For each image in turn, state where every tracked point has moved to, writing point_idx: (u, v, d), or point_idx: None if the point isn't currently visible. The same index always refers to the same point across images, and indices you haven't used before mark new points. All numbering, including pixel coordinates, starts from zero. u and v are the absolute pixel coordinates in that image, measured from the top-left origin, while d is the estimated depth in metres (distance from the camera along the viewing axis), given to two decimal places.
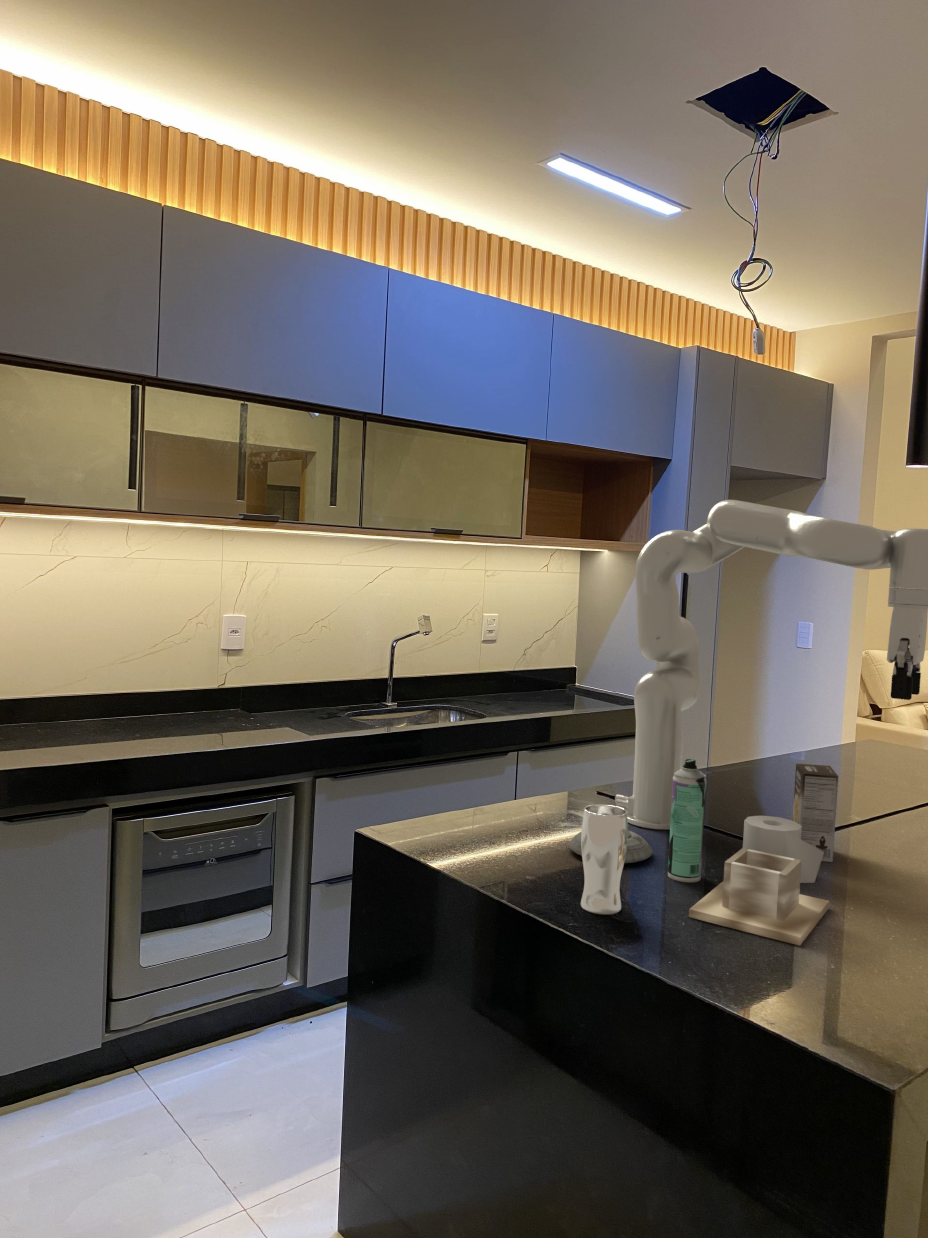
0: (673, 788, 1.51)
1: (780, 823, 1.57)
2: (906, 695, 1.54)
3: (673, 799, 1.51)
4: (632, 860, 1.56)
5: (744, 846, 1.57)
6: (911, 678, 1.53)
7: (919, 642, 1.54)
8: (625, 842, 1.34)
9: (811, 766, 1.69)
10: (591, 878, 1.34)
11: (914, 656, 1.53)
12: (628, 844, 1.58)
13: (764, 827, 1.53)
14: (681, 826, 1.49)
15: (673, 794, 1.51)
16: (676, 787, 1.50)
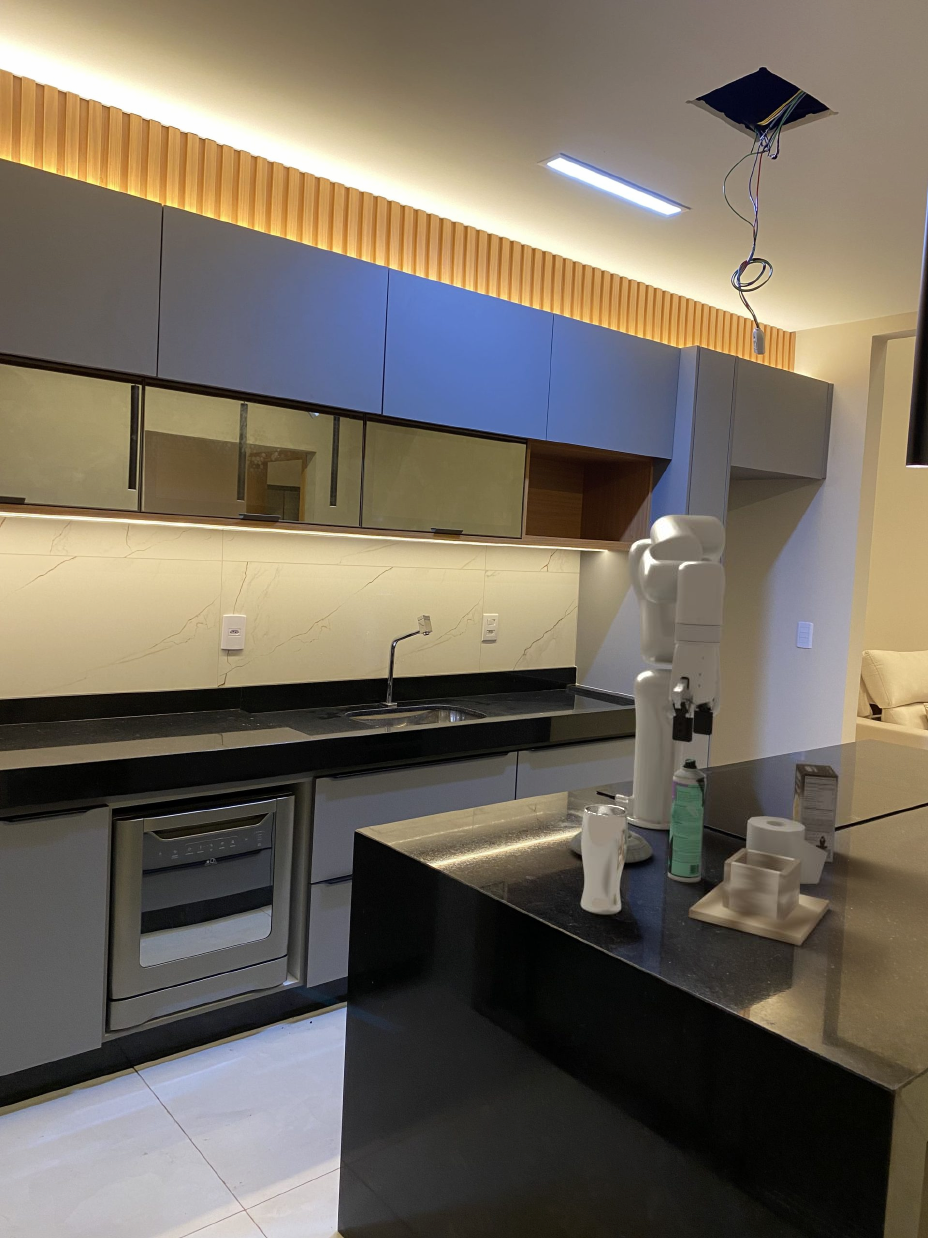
0: (673, 788, 1.51)
1: (783, 824, 1.56)
2: (686, 737, 1.45)
3: (673, 799, 1.51)
4: (632, 860, 1.56)
5: (747, 846, 1.56)
6: (691, 719, 1.45)
7: (699, 681, 1.45)
8: (625, 842, 1.34)
9: (811, 766, 1.69)
10: (591, 878, 1.34)
11: (694, 696, 1.45)
12: (628, 844, 1.58)
13: (767, 828, 1.53)
14: (681, 826, 1.49)
15: (673, 794, 1.51)
16: (677, 787, 1.50)
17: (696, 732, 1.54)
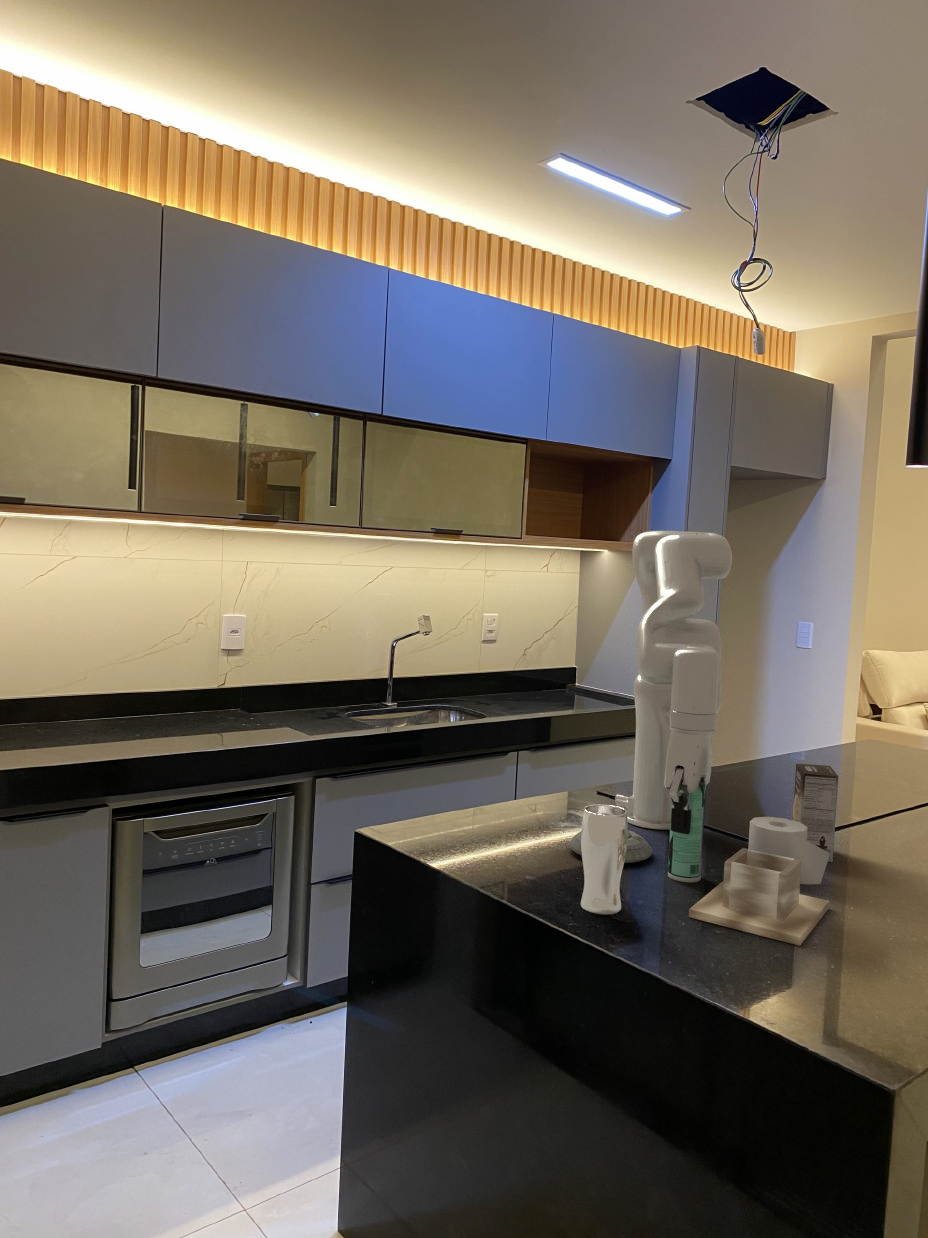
0: None
1: (786, 824, 1.56)
2: (685, 829, 1.48)
3: None
4: (633, 860, 1.56)
5: (750, 847, 1.56)
6: (689, 812, 1.48)
7: (694, 770, 1.46)
8: (625, 842, 1.34)
9: (811, 766, 1.69)
10: (591, 878, 1.34)
11: (688, 785, 1.46)
12: (629, 844, 1.58)
13: (770, 828, 1.53)
14: None
15: None
16: None
17: None
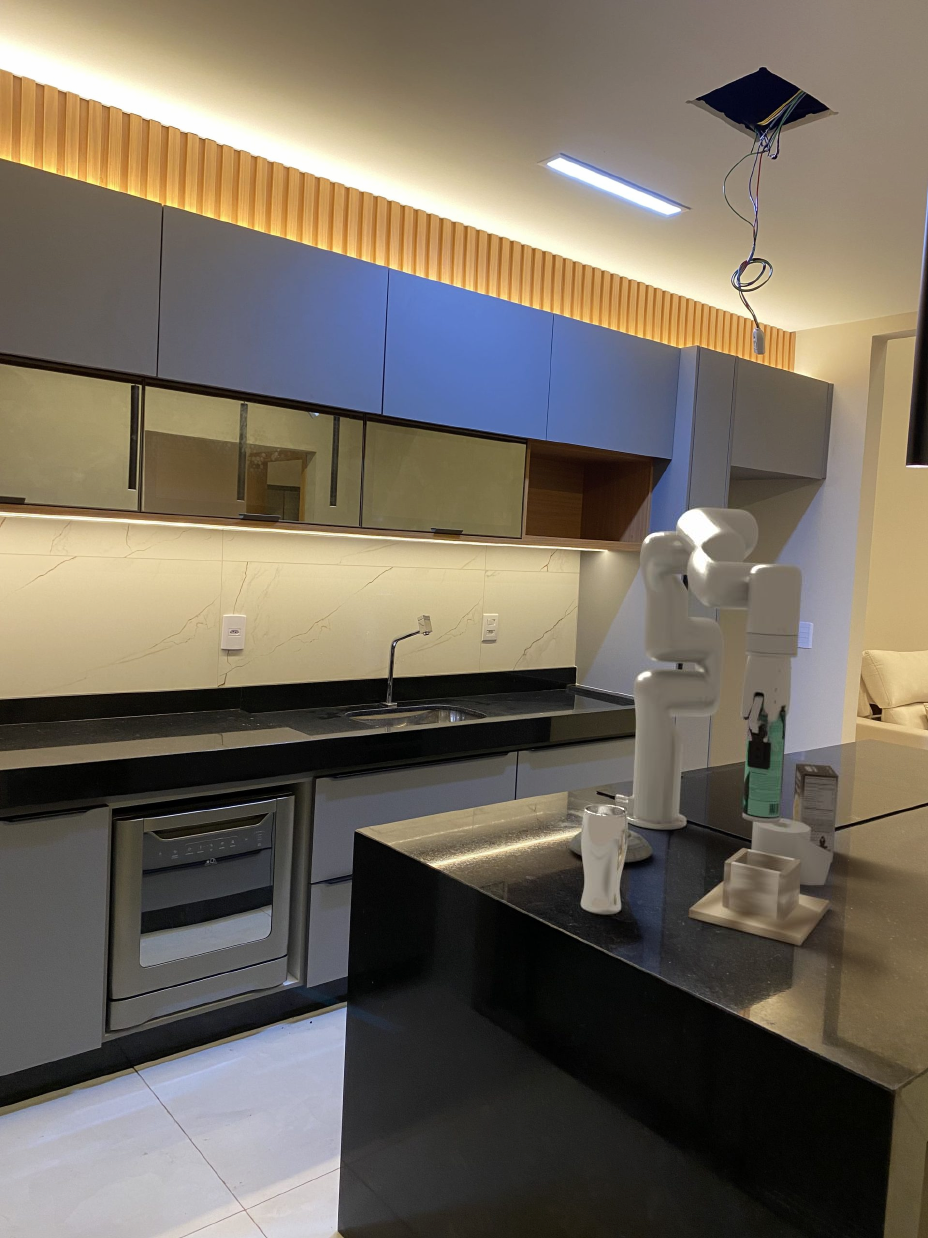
0: None
1: (789, 825, 1.56)
2: (764, 764, 1.33)
3: None
4: (633, 859, 1.56)
5: (753, 848, 1.56)
6: (769, 744, 1.33)
7: (775, 697, 1.31)
8: (625, 842, 1.34)
9: (811, 766, 1.69)
10: (591, 878, 1.34)
11: (769, 714, 1.31)
12: (629, 843, 1.58)
13: (773, 829, 1.52)
14: None
15: None
16: None
17: None
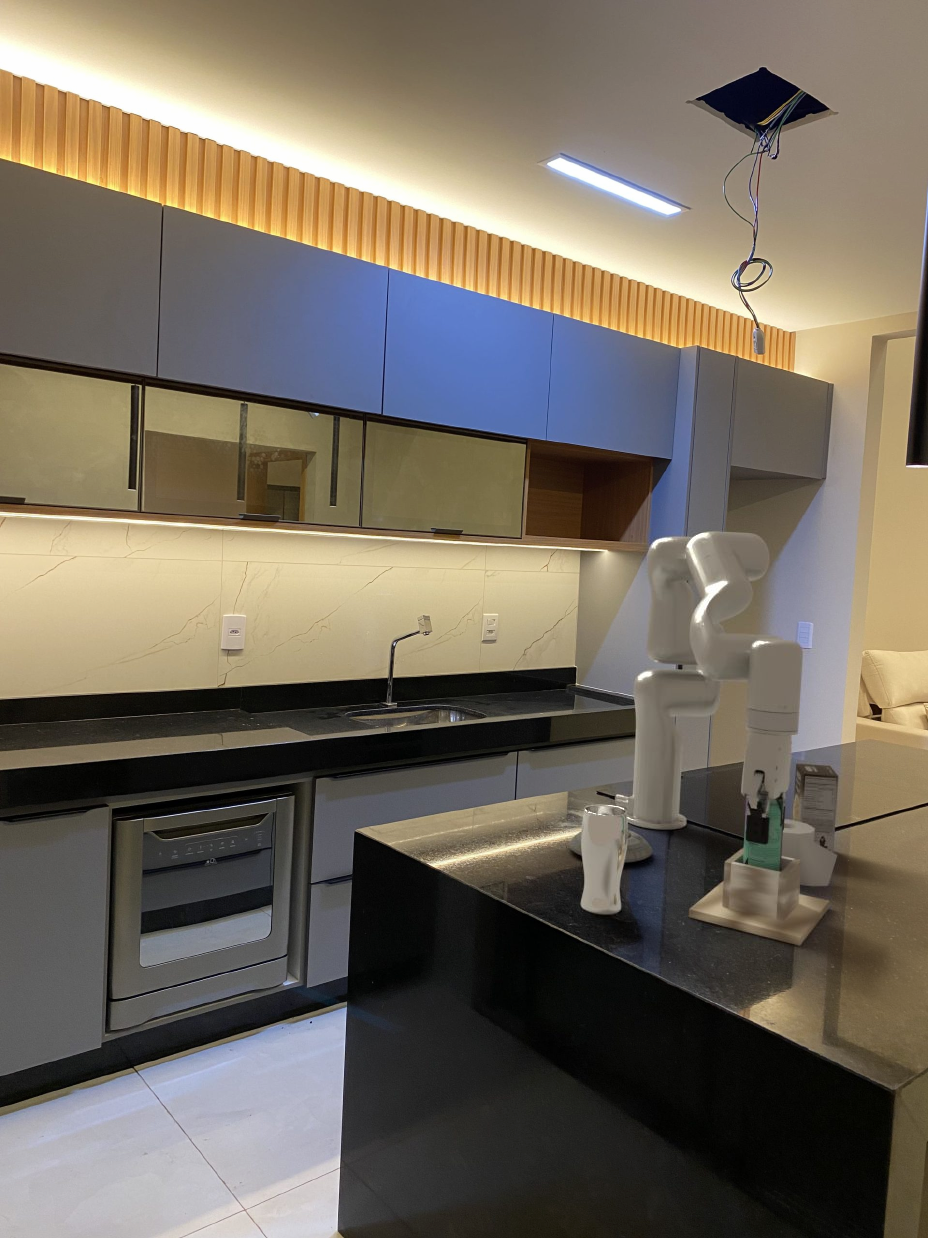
0: (747, 806, 1.36)
1: (793, 826, 1.55)
2: (762, 839, 1.32)
3: None
4: (634, 860, 1.56)
5: None
6: (767, 820, 1.31)
7: (776, 775, 1.31)
8: (625, 842, 1.34)
9: (811, 766, 1.69)
10: (591, 878, 1.34)
11: (770, 792, 1.31)
12: (629, 843, 1.58)
13: None
14: (757, 847, 1.34)
15: None
16: None
17: None
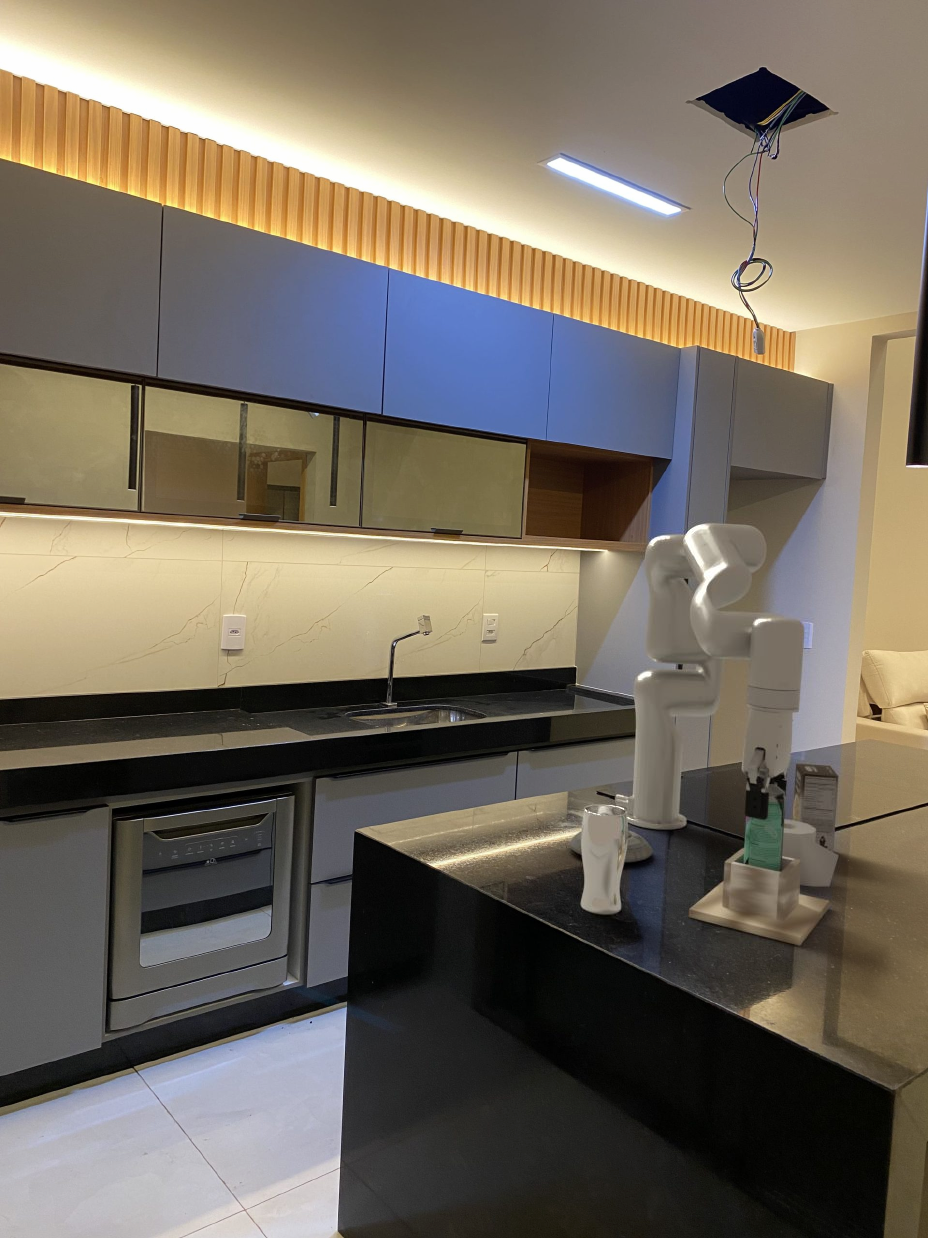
0: None
1: (794, 826, 1.55)
2: (761, 814, 1.32)
3: (748, 818, 1.36)
4: (634, 859, 1.56)
5: None
6: (767, 795, 1.31)
7: (777, 753, 1.31)
8: (625, 842, 1.34)
9: (811, 766, 1.69)
10: (591, 878, 1.34)
11: (770, 769, 1.31)
12: (630, 843, 1.58)
13: None
14: (758, 847, 1.34)
15: None
16: None
17: None
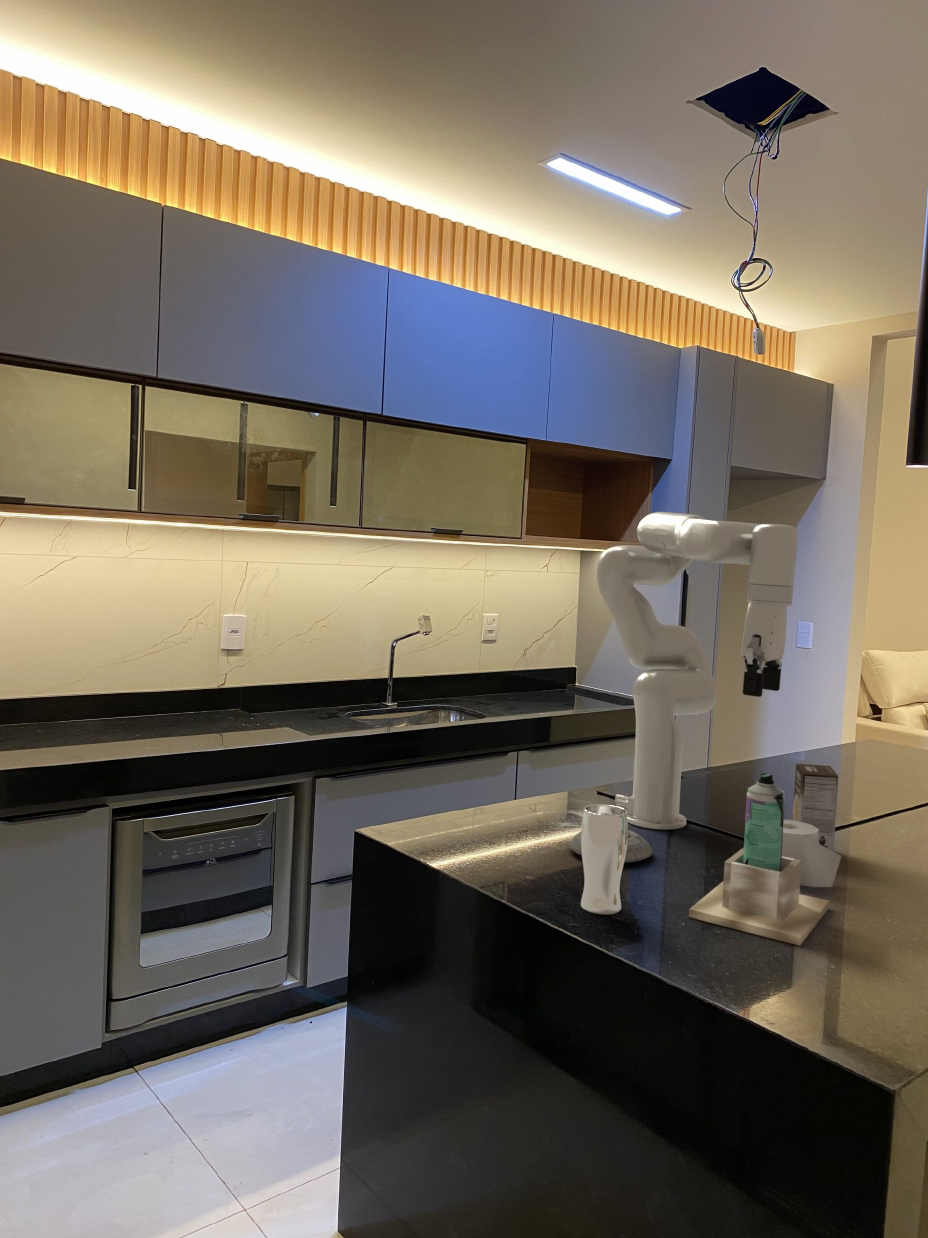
0: (747, 806, 1.36)
1: (797, 826, 1.55)
2: (757, 692, 1.53)
3: (748, 818, 1.36)
4: (635, 859, 1.56)
5: None
6: (762, 675, 1.52)
7: (771, 639, 1.52)
8: (625, 842, 1.34)
9: (811, 766, 1.69)
10: (591, 878, 1.34)
11: (765, 653, 1.52)
12: (630, 843, 1.58)
13: None
14: (757, 847, 1.34)
15: (748, 812, 1.36)
16: (752, 805, 1.35)
17: (764, 688, 1.62)
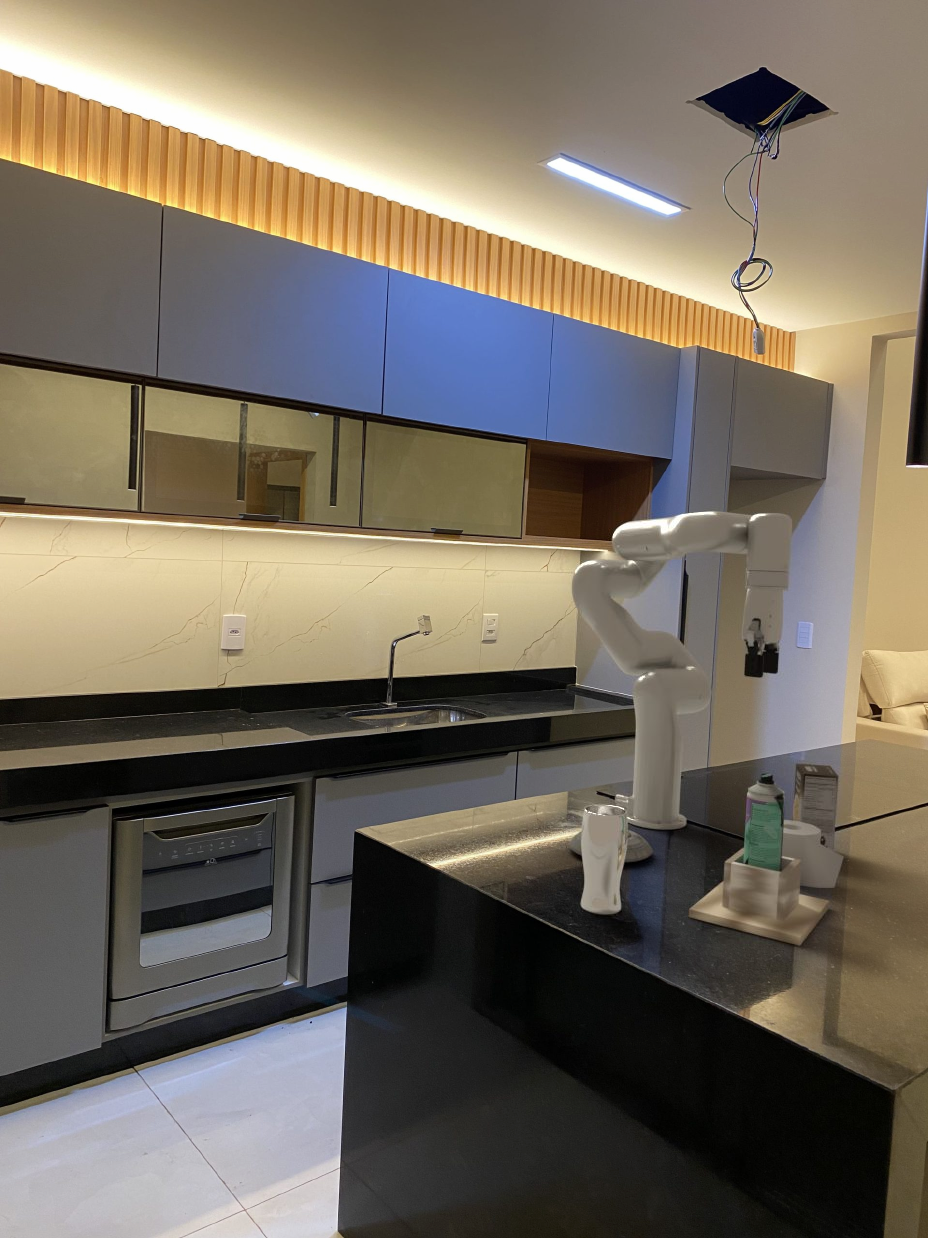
0: (748, 806, 1.36)
1: (799, 827, 1.55)
2: (758, 673, 1.60)
3: (748, 818, 1.36)
4: (635, 859, 1.56)
5: None
6: (762, 657, 1.59)
7: (770, 622, 1.60)
8: (625, 842, 1.34)
9: (811, 766, 1.69)
10: (591, 878, 1.34)
11: (765, 635, 1.59)
12: (630, 843, 1.58)
13: (783, 831, 1.51)
14: (757, 848, 1.34)
15: (748, 812, 1.36)
16: (752, 805, 1.35)
17: (763, 671, 1.69)
